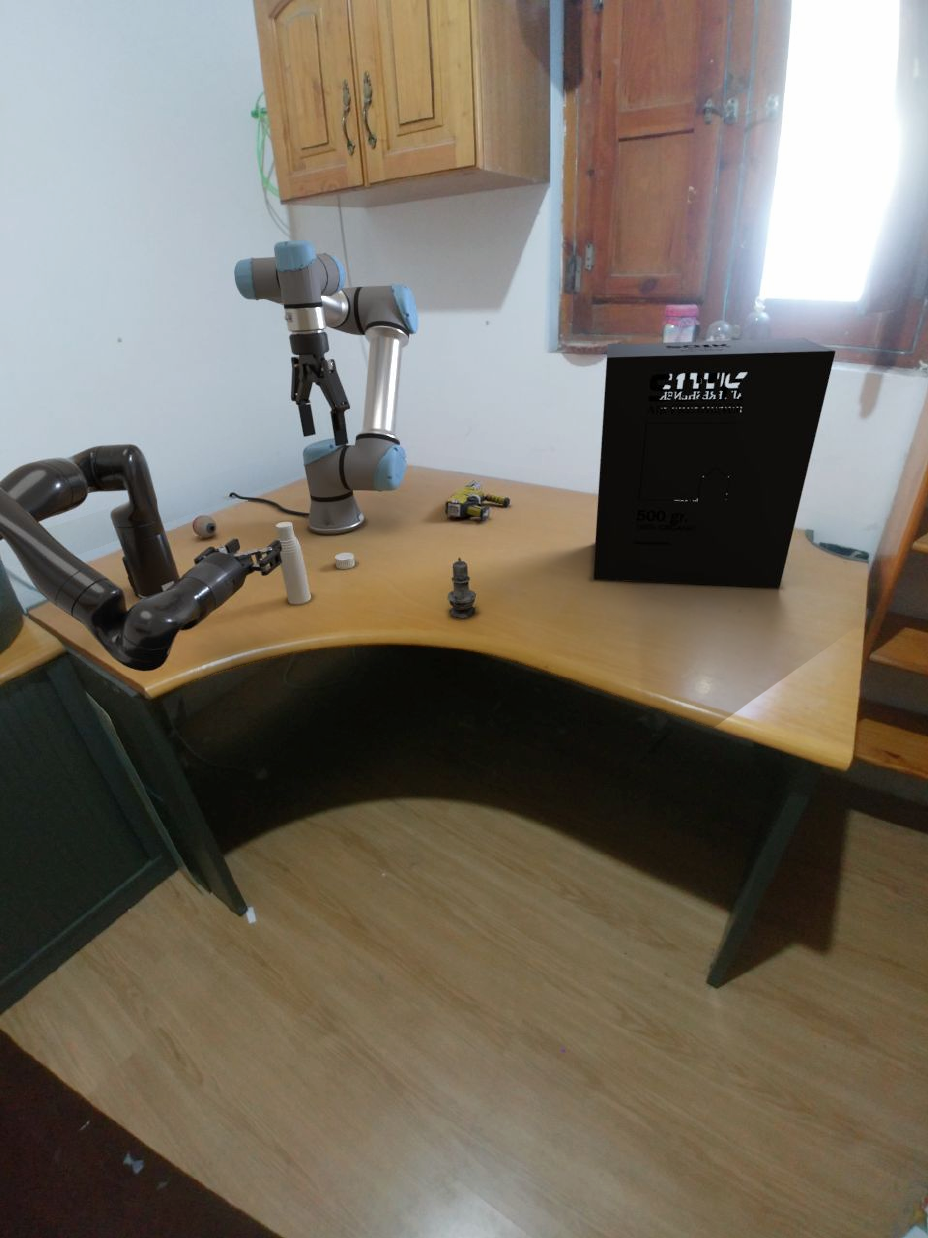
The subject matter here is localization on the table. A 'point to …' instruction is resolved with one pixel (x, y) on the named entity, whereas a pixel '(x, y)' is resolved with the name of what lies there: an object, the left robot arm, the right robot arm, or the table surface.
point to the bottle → (293, 565)
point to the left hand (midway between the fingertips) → (258, 543)
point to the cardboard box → (706, 459)
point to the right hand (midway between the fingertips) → (325, 439)
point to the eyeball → (204, 526)
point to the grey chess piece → (461, 592)
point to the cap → (344, 560)
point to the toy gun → (472, 502)
